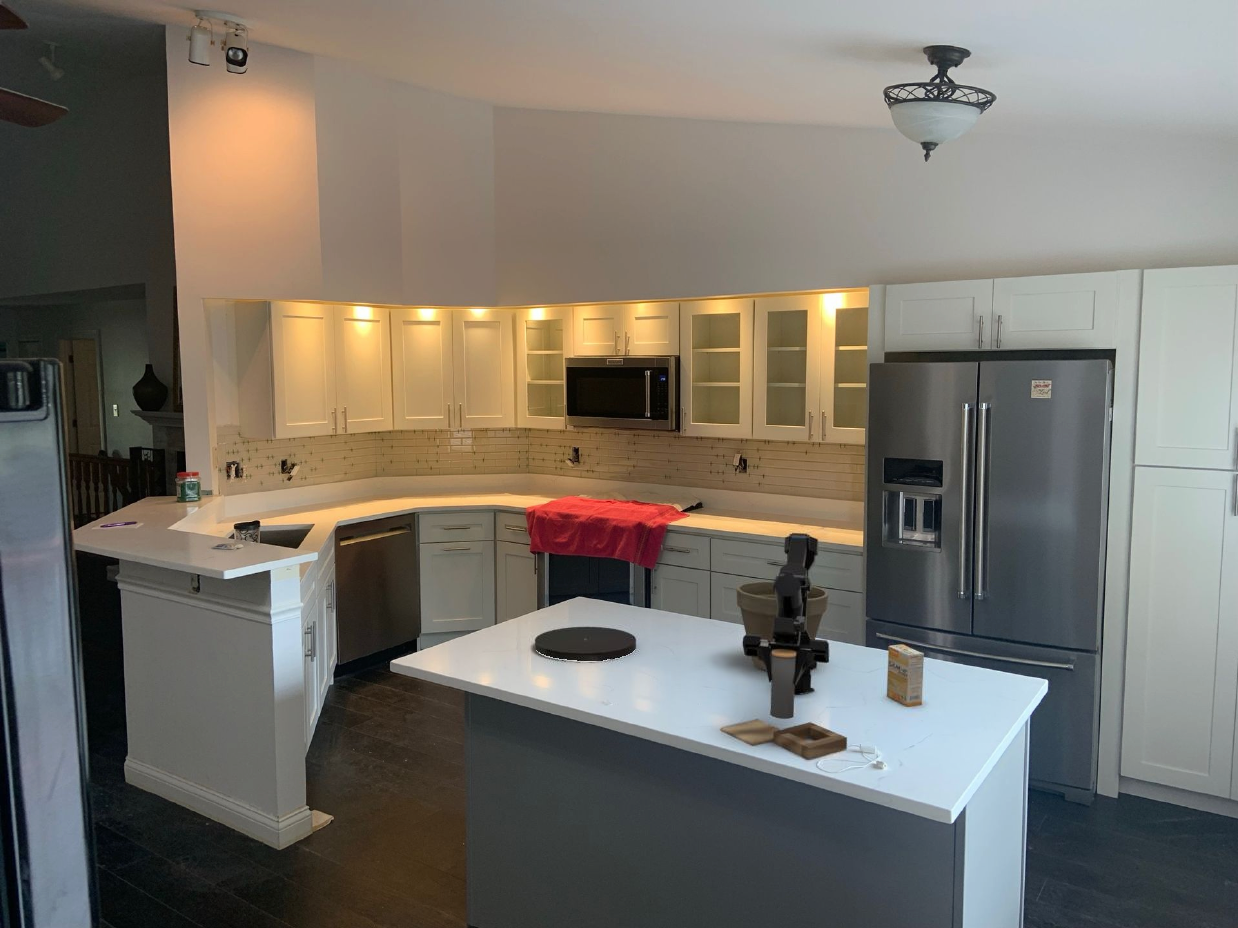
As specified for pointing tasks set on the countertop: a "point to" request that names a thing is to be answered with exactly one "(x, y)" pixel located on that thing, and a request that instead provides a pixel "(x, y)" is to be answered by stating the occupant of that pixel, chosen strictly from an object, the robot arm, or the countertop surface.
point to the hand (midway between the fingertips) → (782, 682)
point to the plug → (782, 683)
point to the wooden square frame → (821, 746)
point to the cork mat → (751, 731)
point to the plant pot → (774, 610)
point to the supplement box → (905, 675)
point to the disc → (585, 643)
